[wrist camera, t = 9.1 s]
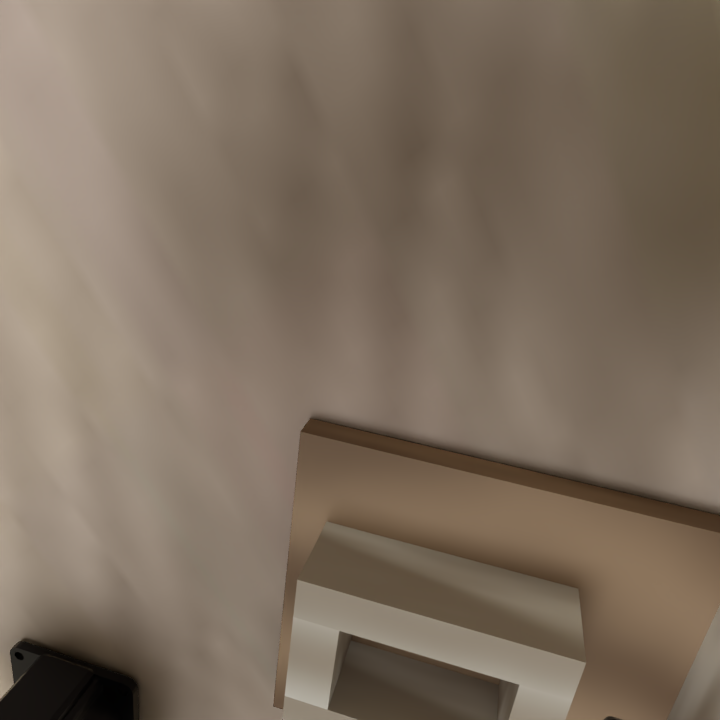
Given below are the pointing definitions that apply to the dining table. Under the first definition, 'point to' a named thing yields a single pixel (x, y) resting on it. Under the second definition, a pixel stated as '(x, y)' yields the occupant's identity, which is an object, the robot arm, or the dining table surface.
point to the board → (489, 592)
